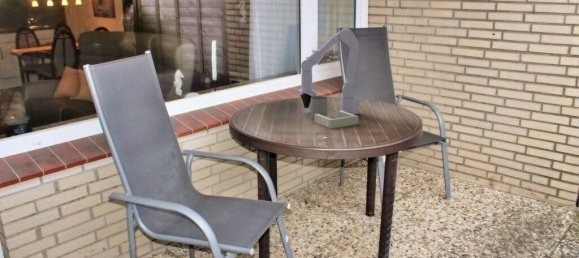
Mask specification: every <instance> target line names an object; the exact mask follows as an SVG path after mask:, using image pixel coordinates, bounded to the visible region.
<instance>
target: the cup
mask: <svg viewBox="0 0 579 258" xmlns="http://www.w3.org/2000/svg"><path fill="white" fill-rule="evenodd" d="M315 114H320V115H323V116H326V117H328V97H327V96H323V95H316V96H313V97H311V101H310V118H311V119H315Z"/></svg>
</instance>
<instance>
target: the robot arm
mask: <svg viewBox="0 0 579 258" xmlns="http://www.w3.org/2000/svg"><path fill="white" fill-rule="evenodd" d="M341 42H343V43H345V44H346V46H348V48H349V51H348V52H349V53H348V58H347V59H348V61H347V68H346V73H345V80H344V83H343V85H342V90H341V94H342V95H340V97H341V98H340V110H341V111H344V112H347V113H350V114H353V115H359V114H361V112H360V105H361V104H360V98H359V96H357V95H355V86H354V84H355V77H356V69H357V63H358V56H359V49H360V43H359V42H358V39H357V38H356V35H355V33H354V32H353V31H352V30H351V29H350V28H347V27H344V28H342V29H341V30H340V31H338V32H337V33H335V34H334V35H332V36H331V37H330V38H329V40H327V41H326V42H325V44H324V45H322V46H321V48H315V49H313V50H312V51H311V53H310V54H309V55H308V56H306V57H305V59H304V60H303V61H302V62H301V63H300V64H301V65H300V69H301V75H300V76H301V77H300V78H301V84H300V86H301V87H300V88H297V93H300V95H299V97H300V98H301V100H302V103H303V107H304V109H309V108H310V106H311V97H313V96H317V92H316V91H314V90H313V67H314V66H316V65H317V64H318V63H319V62H320V61H321V60H322V59H324V58H325V53H326V52H327V51H328V50H330V49H331V48H332V47H333V46H334V45H335V44H338V43H339V44H340V43H341ZM337 114H338V111H337Z"/></svg>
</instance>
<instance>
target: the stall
mask: <svg viewBox="0 0 579 258" xmlns="http://www.w3.org/2000/svg"><path fill="white" fill-rule="evenodd" d="M337 112H338V113H337V118H331V117H328V116H327V117H326V116H323V115H320V114H315V118H314V123H316V124H319V125H321V126H323V127H326V128H328V129H332V130H333V129H337V128H343V127H348V126H349V127H350V126H355V125H358V124H359V116H358V114H350V113H347V112H344V111H341V109H340V110H337Z"/></svg>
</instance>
